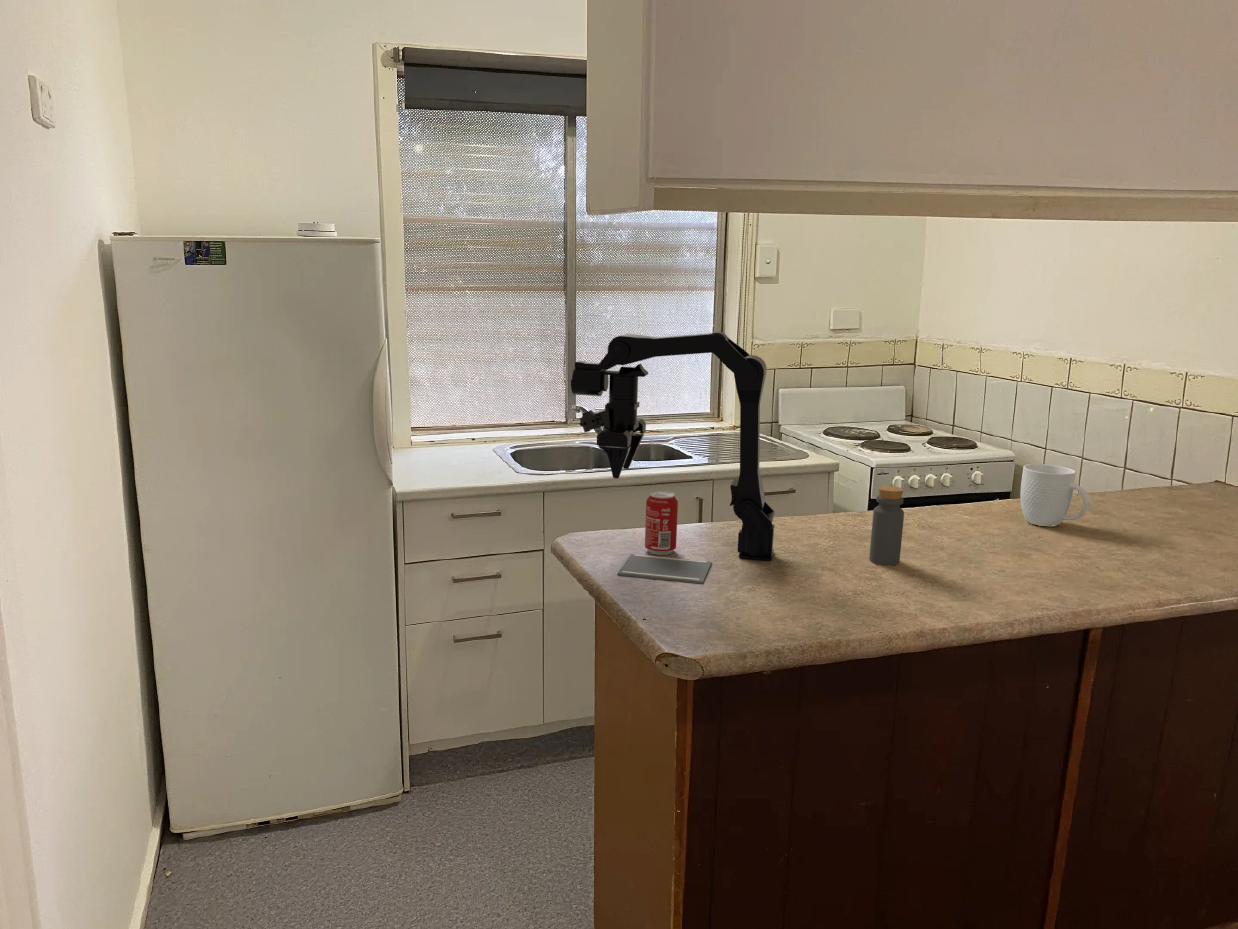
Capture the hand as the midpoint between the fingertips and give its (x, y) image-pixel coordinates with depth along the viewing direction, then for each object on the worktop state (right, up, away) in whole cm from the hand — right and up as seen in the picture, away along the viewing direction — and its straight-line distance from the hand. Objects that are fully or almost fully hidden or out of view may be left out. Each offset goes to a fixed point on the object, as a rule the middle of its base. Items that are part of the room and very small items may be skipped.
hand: (621, 473), depth 191 cm
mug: (+98, -12, +25) cm, 102 cm away
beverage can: (+8, -16, -2) cm, 18 cm away
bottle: (+52, -18, -4) cm, 55 cm away
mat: (+8, -18, -13) cm, 24 cm away
